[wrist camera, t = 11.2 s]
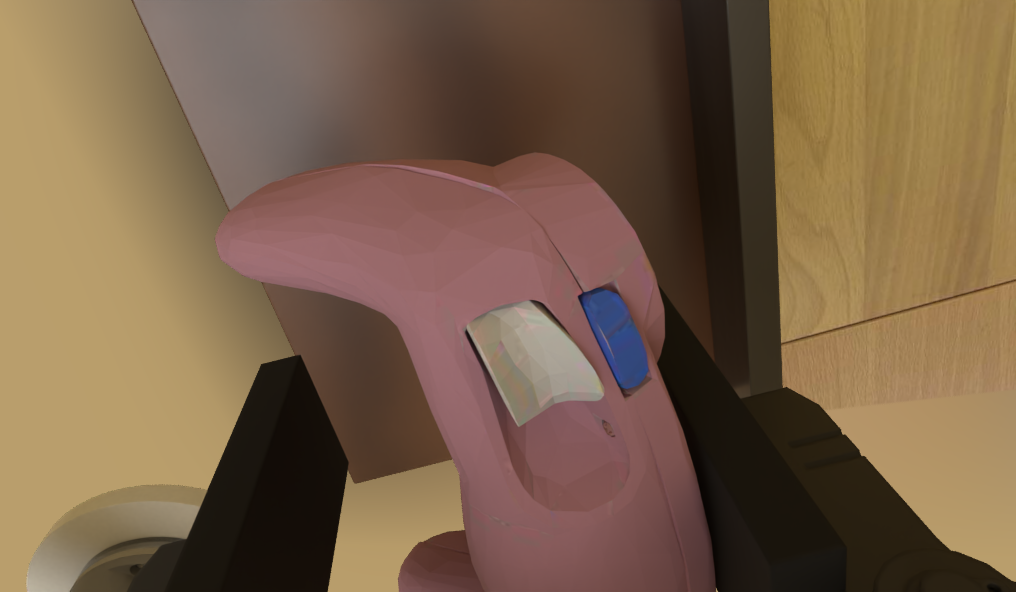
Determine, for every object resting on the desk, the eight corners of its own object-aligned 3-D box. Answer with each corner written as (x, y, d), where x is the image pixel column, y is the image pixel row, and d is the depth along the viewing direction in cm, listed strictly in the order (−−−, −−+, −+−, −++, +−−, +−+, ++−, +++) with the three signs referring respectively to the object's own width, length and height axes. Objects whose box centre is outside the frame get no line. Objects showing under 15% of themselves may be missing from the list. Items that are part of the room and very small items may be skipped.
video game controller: (553, 482, 16) (798, 697, 11) (395, 594, 15) (587, 920, 9) (432, 95, 12) (745, 116, 6) (182, 192, 10) (299, 342, 4)
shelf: (358, 457, 25) (343, 551, 21) (122, -71, 16) (23, -84, 12) (727, 363, 25) (785, 440, 21) (679, -218, 16) (760, -279, 12)
